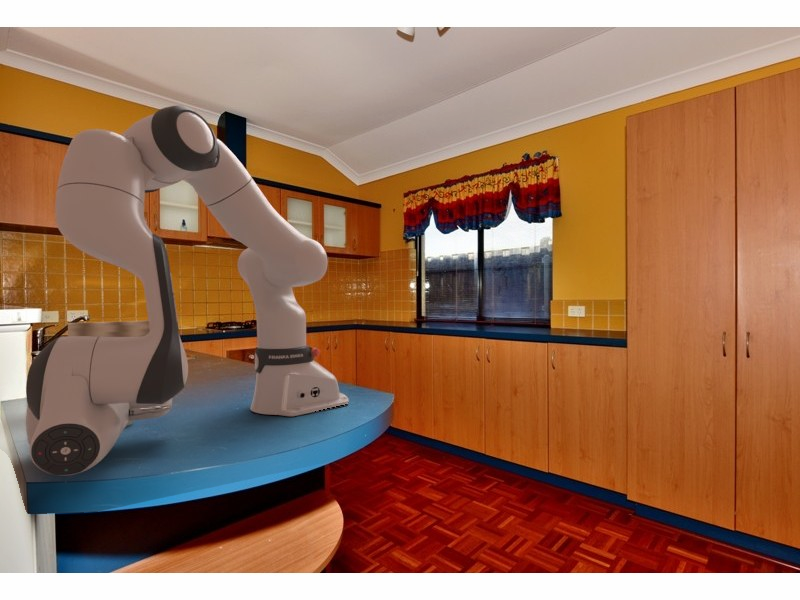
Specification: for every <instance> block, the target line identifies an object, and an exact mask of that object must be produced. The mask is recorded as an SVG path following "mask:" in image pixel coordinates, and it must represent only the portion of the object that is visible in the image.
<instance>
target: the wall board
mask: <svg viewBox="0 0 800 600" xmlns="http://www.w3.org/2000/svg"><path fill="white" fill-rule="evenodd" d="M149 331H150V328H149V321H148V320H132V321H130V320H128V321H125V320H124V321H99V322H98V321H95V322H94V321H93V322H69V323H67V336H101V337H142V336H145V335H147V334H148V333H149Z"/></svg>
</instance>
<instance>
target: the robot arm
mask: <svg viewBox="0 0 800 600" xmlns="http://www.w3.org/2000/svg"><path fill="white" fill-rule="evenodd" d="M182 181H184V182H186V183H188V184H189V185H190V186H191V187H192V188H193V189H194V191H195V192H196V194H197V195H198V197H199V198H200V200H201V202H202V203H203V204H204V206H205V207H206V208H207V209H208V210H209V212H210V213H211V215H213V217H214V218H215V219H216V221H217V222H218V223H219V224H220V226H221V227H222V228H223V230H224V231H225V232H226V234H227V235H228V236H229V237H231V238H232V239H234V240H235V241H237V242H239V243H241V244H243V245H244V246H245V247H247V248H245V249H244V250H243V251H242V252H241V253H240V255H239V257H238V259H237V270H238V274H239V275H240V277H241V278H242V280H243V281H244V282H245V283H246V285H247V287H248V289H249V292H250V295H251V298H252V301H253V305H254V310H255V316H256V317H255V318H256V339H257V341H256V342H257V343H256V347H255V351H254V352H255V353H254V369H255V372H256V376H255V377H256V378H255V384H254V385H255V386H254V390H253V391H254V392H253V396H252V402H251V404H250V407H249V408H250V411H251V412H253V413H256V414H262V415H275V416H277V415H278V416H283V417H284V416H285V417H295V416H302V415H305V414H312V413H316V412H320V411H319V410H321V411H324V410H323V409H325V410H328V409H327V408H330V409H332V408H331V407H335V408H337V407H336V406H340V405H344V406H346V405H345V404H348V405H349V403H348V402H350V400H349V398H348V396H347V395H345V394H344V393H343V392H340V388H339V384H338V383H339V382H338V379H337V378H336V376H335V375H334V374H333V373H332V372H330V371H329V370H327V369H326V368H325V367H323V365H321V364H319V363H318V362H317V361H315V360H314V359H315V358H318V357H320V355H321V353H322V351H321V349H320V348H319V347H318V348H317V347H311V346H309V345H307V315H306V312H305V310H304V309H303V308H302V306H301V305H299V303H298V301H297V300H296V297H295V294H294V290H293V287H294V288H296V287H297V288H298V287H304V286H309V285H312V284H313V283H316V282H318V281H320V280H321V279H323V277H324V276H325V275H326V272H327V270H328V255H327V252H326V250H325V248H324V247H323V246H322V244H321V243H319V241H317V240H314V239H313V238H309V236H307V235H304V234H303V233H302V232H301V231H299V230H297V228H295V227H294V226H293V225H292V224H290V222H288V221H287V220H286V219H285V218H284V217H283V216H282V215H281V214H280V213H279V212H278V211H277V210H276V209H275V208H274V207H273V206H272V205H271V203H270V202H269V200H268V199H267V197H266V196H265V195H264V193H263V192H262V191H261V189H260V188H259V185H258V183H256V182H255V180H254V179H253V177H252V175H251V174H250V173H249V172H248V170H247V169H246V167H245V166H244V164H243V163H242V162H241V161H240V160H239V159H238V158H237V156H236V155H235V154H234V152H232V150H230V148H228V146H227V145H226V144H225V143H224V142H223V141H222V140H220V139H219V138H218V137H216V134H215V132H214V130H213V128H212V127H211V124H209V122H208V121H207V120H206V119H205V118H204V117H203V116H202V115H201V114H199V113H198V112H196V111H195V110H193V109H192V108H191V107H188V106H185V105H171V106H167V107H162V108H160V109H158V110H156V112H155V113H153V114H150V115H147V116H146V117H145V116H144V117H143V118H141V119H139V120H137V121H135V122H134V123H132V125H130V127H129V128H127V129H125V131H123V132H122V133H120V134H119V133H116V132H114V131H110V130H107V129H101V128H93V129H91V128H89V129H86V130H83V131H81V132H78V133H77V134H76V135H74V137H72V139H71V142H70V144H69V145H68V148H67V151H66V153H65V155H64V158H63V161H62V164H61V168H60V173H59V175H58V181H57V188H56V195H55V202H54V203H55V204H54V215H55V224H56V226H57V228H58V231H59V232H60V234H61V235H62V237H64V239H65V240H66V241H67V242H68V243H70V244H71V245H72V246H73V247H75V248H76V249H78V250H79V251H81V252H82V253H84V254H86V255H88V256H90V257H92V258H95V259H97V260H100V261H103V262H105V263H108V264H110V265H113V266H116V267H118V268H121V269H123V270H125V271H128V272H129V273H131V274H133V275H134V276H135V277H137V278H138V279H139V280H140V281H141V283H142V285H143V290H144V296H145V297H144V298H145V303H146V304H145V305H146V311H147V319H148V320H147V321H149V328H150V331H149V333H148V334H147V335H145V336H142V337H101V336H68V335H66V336H63V335H61V336H59V337H57V338H55V339H53V340H52V341H50V342H49V343H48V344H47V345H46V346H45V347H43V348H42V349H41V350H40V351H39V352H38V353H37V355H36V356H35V357H34V358H33V360H32V361H31V364H30V366H29V369H28V372H27V378H26V386H25V389H26V390H25V395H26V402H27V408H26V414H25V416H26V417H25V431H26V438H27V443H28V445H29V455H30V456H29V457H30V459H31V461H32V462H33V463H32V464H34V465H35V467H37V468H38V469H39V470H41V471H43V472H45V473H47V474H49V475H54V476H62V477H63V476H64V477H65V476H73V475H74V476H75V475H77V474H81V473H83V472H85V471H88V470H89V469H91V468H93V467H95V466H96V465H97V464H99V462H101V461H102V460H103V459H104V458H105V457H106V456H107V455H108V453H110V451H111V450H112V448H113V447H114V445H116V442H117V441H118V439H119V437H120V436H121V435H122V433H123V431H124V429H125V428H127V426H126V425H127V423H128V421H132V420H133V421H138V420H145V419H147V420H148V419H155V418H160V417H163V416H165V415H167V414H168V413H169V412H170V411H171V409H172V408H173V398H174V397H176V395H178V394H179V393H181V391H182V390H183V389H184V388H185V384H186V382H187V379H188V374H189V365H188V358H187V357H188V356H187V354H186V350H185V348H184V345H183V342H182V339H181V336H180V329H179V321H178V312H177V307H176V306H177V305H176V300H175V299H176V298H175V292H174V286H173V285H174V283H173V280H172V279H173V277H172V271H171V268H170V263H169V262H170V261H169V256H168V252H167V249H166V245H165V243H164V241H163V239H162V237H161V236H159V235H157V234H156V233H153V232H152V231H151V229H150V228H149V226H148V224H147V221H146V218H145V204H146V203H145V199H146V197H145V195H146V194H147V193H154V192H157V191H159V190H160V189H163V188H166V187H169V186H170V187H171V186H172V185H175V184H177V183H180V182H182ZM340 407H341V406H340ZM315 411H316V412H315Z"/></svg>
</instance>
